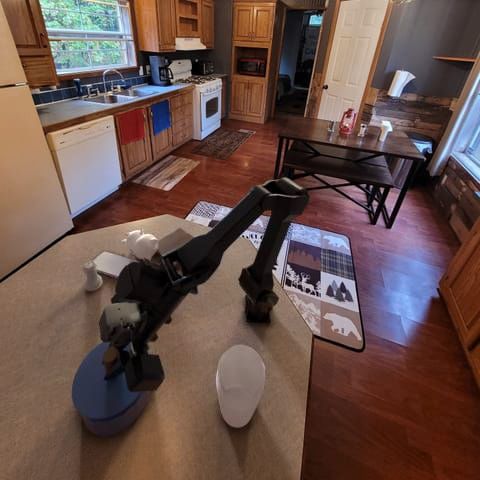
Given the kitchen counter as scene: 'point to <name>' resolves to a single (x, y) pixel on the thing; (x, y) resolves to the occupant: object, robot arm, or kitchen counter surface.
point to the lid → (100, 385)
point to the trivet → (172, 243)
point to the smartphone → (111, 263)
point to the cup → (239, 384)
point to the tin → (118, 418)
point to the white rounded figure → (141, 244)
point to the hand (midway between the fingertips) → (105, 371)
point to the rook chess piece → (92, 277)
